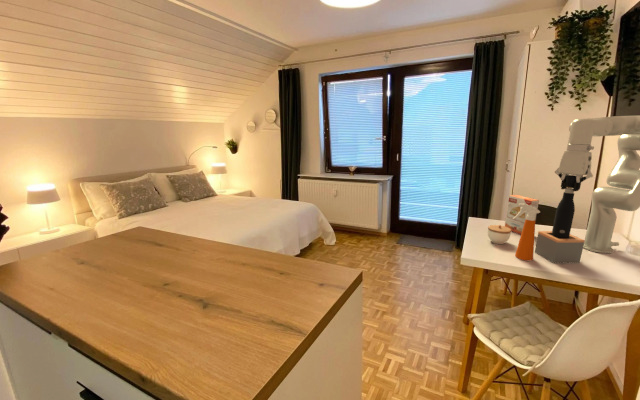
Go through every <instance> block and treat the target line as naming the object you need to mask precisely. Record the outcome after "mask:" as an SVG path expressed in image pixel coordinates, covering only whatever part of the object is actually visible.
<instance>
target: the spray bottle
mask: <svg viewBox="0 0 640 400" xmlns="http://www.w3.org/2000/svg"><path fill="white" fill-rule="evenodd" d="M519 206H521V208H520V209H521V210H520V212H519V213H518V214H517V215H516V216H515V217H514V218H513V219H515V218H518V217H519V216H521V215H522V214H524V213H525V212H528V214H527V215H526V220H525V223H524V227H523V230H522V234H520V238H519V241H518V244H517V247H516V251H515V254H514V255H515V258H517V259H519V260H522V261H533V260H534V253H535V233H536V220H537V215H536V216H535V214H536V213H537V214H539V213H541V211H540V210H539V208H538V209H536V208H534V207H532V206H530V205H527V204H524V203H523V204H522V203H519ZM524 210H526V211H524ZM535 219H536V220H535Z"/></svg>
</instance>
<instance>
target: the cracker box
mask: <svg viewBox="0 0 640 400" xmlns="http://www.w3.org/2000/svg"><path fill="white" fill-rule="evenodd" d="M508 197H509V198H508V204H507V207H506V208H507V209H506V215H505V216H506V217H505V220H504V226H505V227H508V228H510V229H511V232H514V233H516V234H519V235H521V234H522V230H523V227H524V223H525V220H526V215H527V214H528V212H525V213H524V214H522V215H521V216H519V217H518V218H515V219H513V218H514V217H515V216H516V215H517V214H518V213H519V212H520V210H521V209H520V208H521V206H519V203H522V204H523V203H524V204H527V205H530V206H532V207H534V208H536V209H538V210H539V208H538V207H539V203H540V200H539V199H534V198H531V197H527V196H523V195H519V194H510V195H509V196H508ZM524 211H526V210H524ZM537 214H538V213H536V214H535V216H536V217H537ZM535 221H537V218H536V219H535Z"/></svg>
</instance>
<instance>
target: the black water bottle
mask: <svg viewBox="0 0 640 400" xmlns="http://www.w3.org/2000/svg"><path fill="white" fill-rule="evenodd" d="M575 182H576V175H571V174H569V175H567V177H566V182H565V183H567V186H566V187H567V188H566V189H564V191H563V194H562V198H561V199H560V201H559V203H558V205H557V206H556V209H555V210H556V211H555V216H554V219H553V220H554V221H553V226H552V230H551V231H552V236H554V237H556V238H558V239H569V235H570V234H571V230H572V225H573V220H574V216H575V210H576V209H575V201H574V197H575V191H573V188H574V183H575Z"/></svg>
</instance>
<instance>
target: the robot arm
mask: <svg viewBox="0 0 640 400" xmlns="http://www.w3.org/2000/svg"><path fill="white" fill-rule="evenodd" d="M568 131H569V137H568V140H567V147H566V150H565V151H564V153H563V154H562V156H561V159H560V162H559V167H558V168H556V170H554V173H555V174H556V175H557V176H558V177H559V179H560V180H561V183H560V184H561V185H560V187H561V188H560V189H561V190H565V189H566V188H567V187H566V186H567V183H565V182H566V177H567V175H574V176H576V182H575V183H574V188H572V189H573V191H574V192H578V191H580V189H581V185H582V183H583V182H584V181H586V180H588V179H590V178H594V177H593V176H594V175H593V173H592V171H591V170H592V164H593V163H592V161H593V155H592V153H593V152H592V151H591V150H594V149H595V147H594V146H592V140H593V137H605V136H606V137H608V136H609V137H610V136H611V137H613V136H619V137H618V139H617V151H618V160H617V162H616V163H615V164H614V166H613V168H612V169H611V170H610V172H609V174H608V176H607V178H606V183H607V185H608V186H599V187H597V188H595V189H594V190H593V191H592V193H591V209H590V213H589V219H588V223H587V228H586V232H585V238H584V240H585V242H584V246H583V250H587V251H591V252H594V253H601V254H612V253H613V252H614V249H613V248H612V247H619V245H620V243H619V241H612V238H613V233H614V230H615V226H616V222H617V213H616V211H615V209H616V210H622V211H626V212H634V211H637V210H639V209H640V154H639V153H638V152H637V151H640V115H618V116H615V115H614V116H603V117H594V118H593V117H592V118H590V117H589V118H576V119H574V120H573V121H572V122H571V123H570V124H569V127H568Z"/></svg>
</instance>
